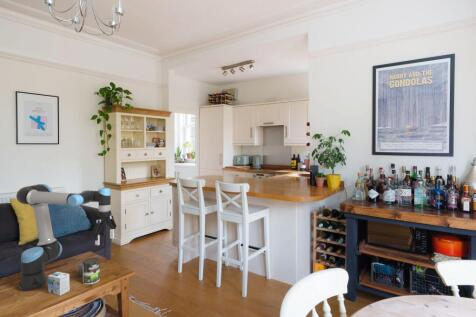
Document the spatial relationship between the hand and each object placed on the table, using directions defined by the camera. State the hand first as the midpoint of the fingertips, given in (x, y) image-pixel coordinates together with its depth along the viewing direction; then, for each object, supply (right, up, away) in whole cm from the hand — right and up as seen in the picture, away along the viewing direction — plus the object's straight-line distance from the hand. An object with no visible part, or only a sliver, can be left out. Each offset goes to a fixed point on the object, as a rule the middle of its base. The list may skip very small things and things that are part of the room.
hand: (104, 241), depth 193 cm
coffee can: (-8, -26, -2) cm, 28 cm away
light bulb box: (-21, -27, -16) cm, 38 cm away
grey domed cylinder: (-19, -26, +7) cm, 33 cm away
